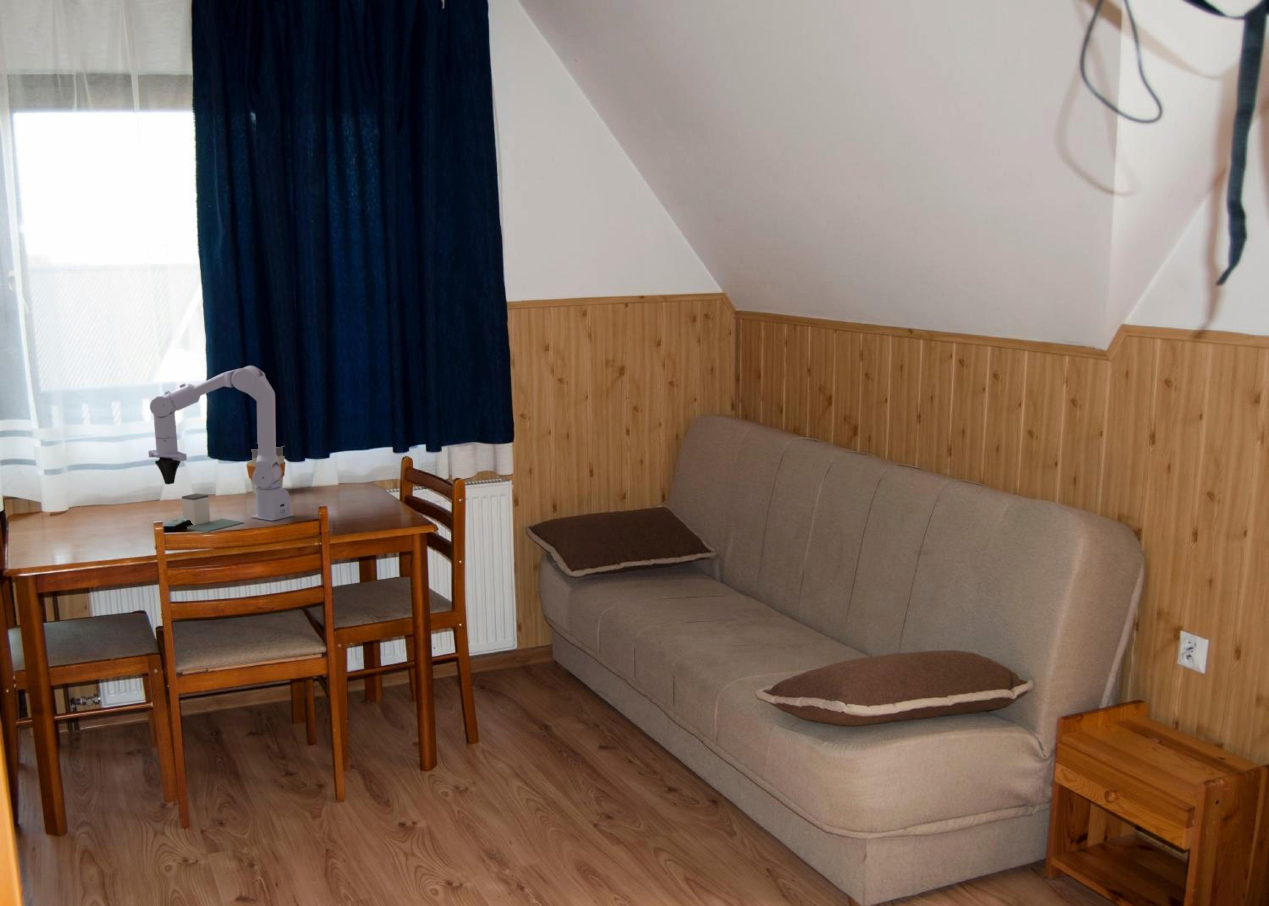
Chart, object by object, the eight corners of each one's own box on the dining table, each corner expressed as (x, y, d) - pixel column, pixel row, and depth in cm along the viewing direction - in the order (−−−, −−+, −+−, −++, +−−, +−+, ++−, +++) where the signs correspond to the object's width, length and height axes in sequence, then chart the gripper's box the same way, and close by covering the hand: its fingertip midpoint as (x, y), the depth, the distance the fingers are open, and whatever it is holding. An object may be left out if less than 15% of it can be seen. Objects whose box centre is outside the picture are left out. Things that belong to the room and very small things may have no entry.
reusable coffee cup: (296, 490, 377) (293, 444, 375) (266, 497, 366) (263, 450, 364) (269, 486, 383) (266, 441, 381) (238, 493, 373) (235, 447, 370)
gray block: (210, 522, 332) (208, 495, 331) (195, 525, 328) (193, 498, 326) (198, 520, 335) (196, 493, 333) (184, 523, 330) (181, 496, 329)
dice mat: (243, 523, 330) (243, 522, 330) (205, 532, 320) (205, 531, 319) (222, 519, 335) (222, 518, 335) (184, 528, 324) (184, 527, 324)
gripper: (137, 437, 333) (141, 483, 336) (170, 441, 326) (173, 488, 328) (159, 434, 339) (162, 479, 342) (191, 437, 332) (194, 484, 334)
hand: (169, 483), depth 335 cm, fingers closed
